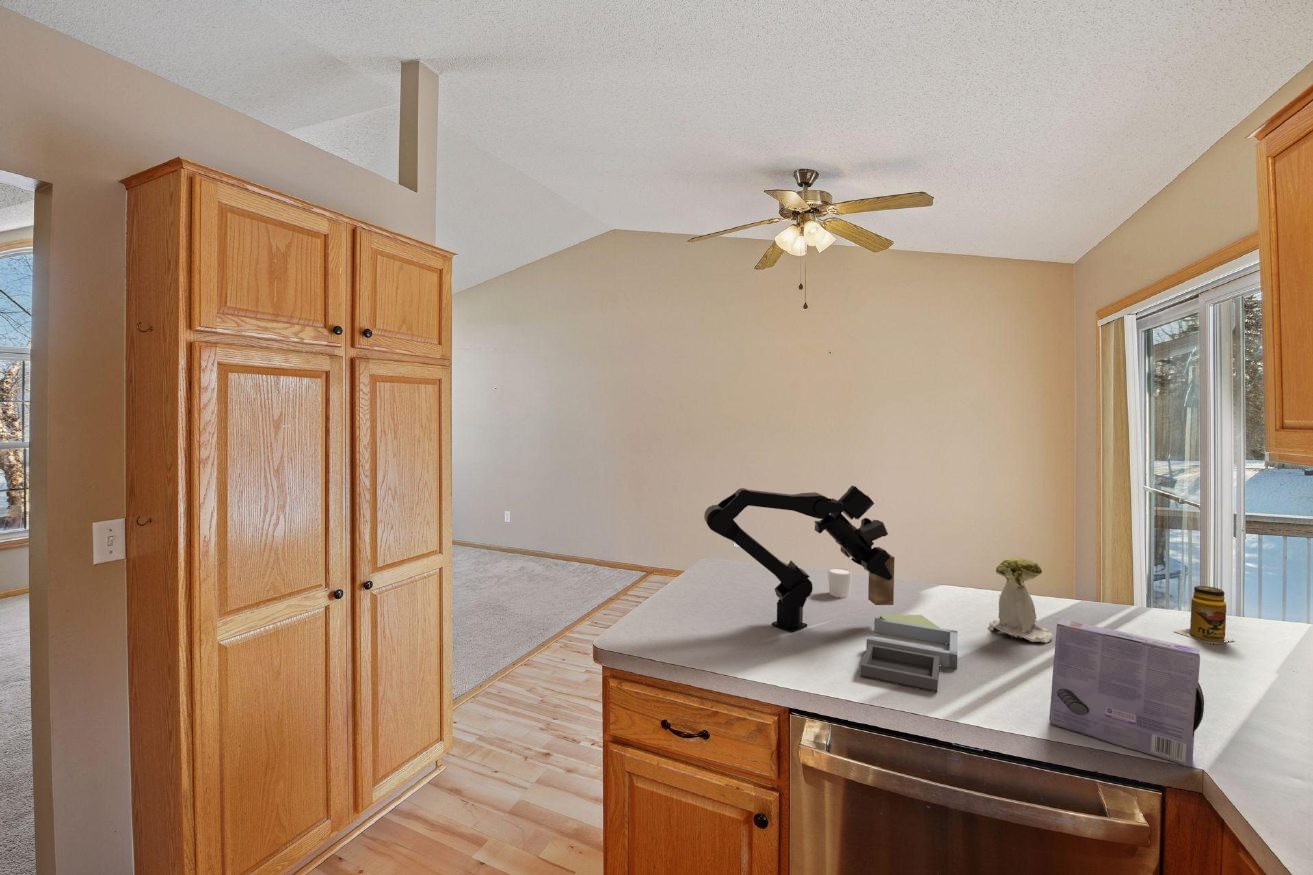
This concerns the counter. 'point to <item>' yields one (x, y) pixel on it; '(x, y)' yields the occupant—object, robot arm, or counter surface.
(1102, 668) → the cake pan box
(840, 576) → the white cup
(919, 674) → the tray
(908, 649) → the channel
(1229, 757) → the counter surface
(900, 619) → the mat
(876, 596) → the walnut block
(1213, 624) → the condiment
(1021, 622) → the mushroom
